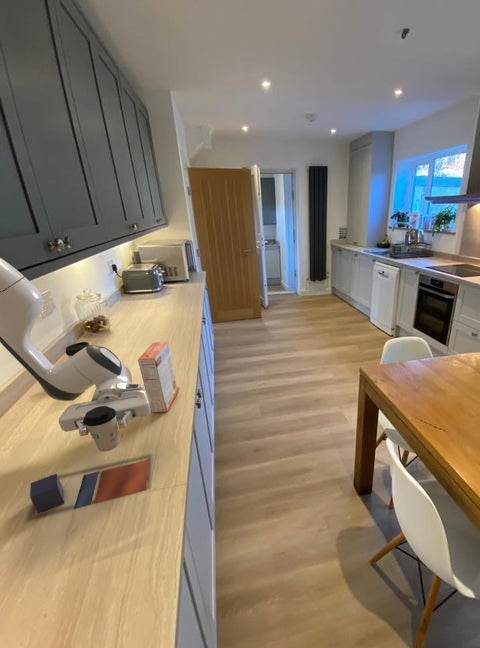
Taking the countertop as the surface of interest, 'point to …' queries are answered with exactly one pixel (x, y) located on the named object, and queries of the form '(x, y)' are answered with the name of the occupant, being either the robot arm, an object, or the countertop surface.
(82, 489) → the sorting board
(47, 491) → the navy block
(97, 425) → the coffee cup
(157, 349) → the cracker box
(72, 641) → the countertop surface
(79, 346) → the coffee cup
